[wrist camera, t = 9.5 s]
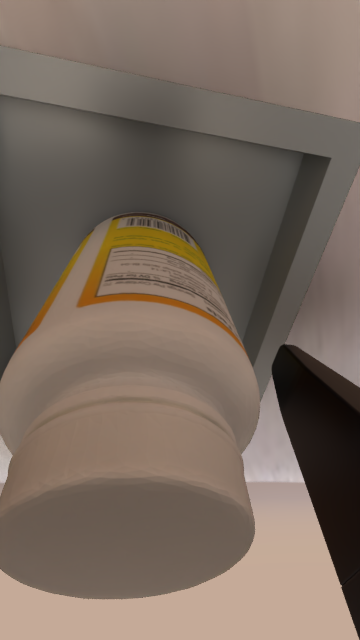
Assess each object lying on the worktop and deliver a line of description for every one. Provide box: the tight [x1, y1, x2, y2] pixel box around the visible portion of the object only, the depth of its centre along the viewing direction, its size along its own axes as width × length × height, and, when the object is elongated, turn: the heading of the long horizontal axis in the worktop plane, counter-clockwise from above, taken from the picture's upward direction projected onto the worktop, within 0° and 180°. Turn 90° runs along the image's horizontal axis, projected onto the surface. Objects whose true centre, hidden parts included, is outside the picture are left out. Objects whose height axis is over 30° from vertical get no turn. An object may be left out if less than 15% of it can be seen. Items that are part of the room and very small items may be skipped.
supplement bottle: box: [0, 212, 260, 599], centre depth 9 cm, size 6×6×10 cm
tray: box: [0, 45, 360, 401], centre depth 12 cm, size 13×13×2 cm
